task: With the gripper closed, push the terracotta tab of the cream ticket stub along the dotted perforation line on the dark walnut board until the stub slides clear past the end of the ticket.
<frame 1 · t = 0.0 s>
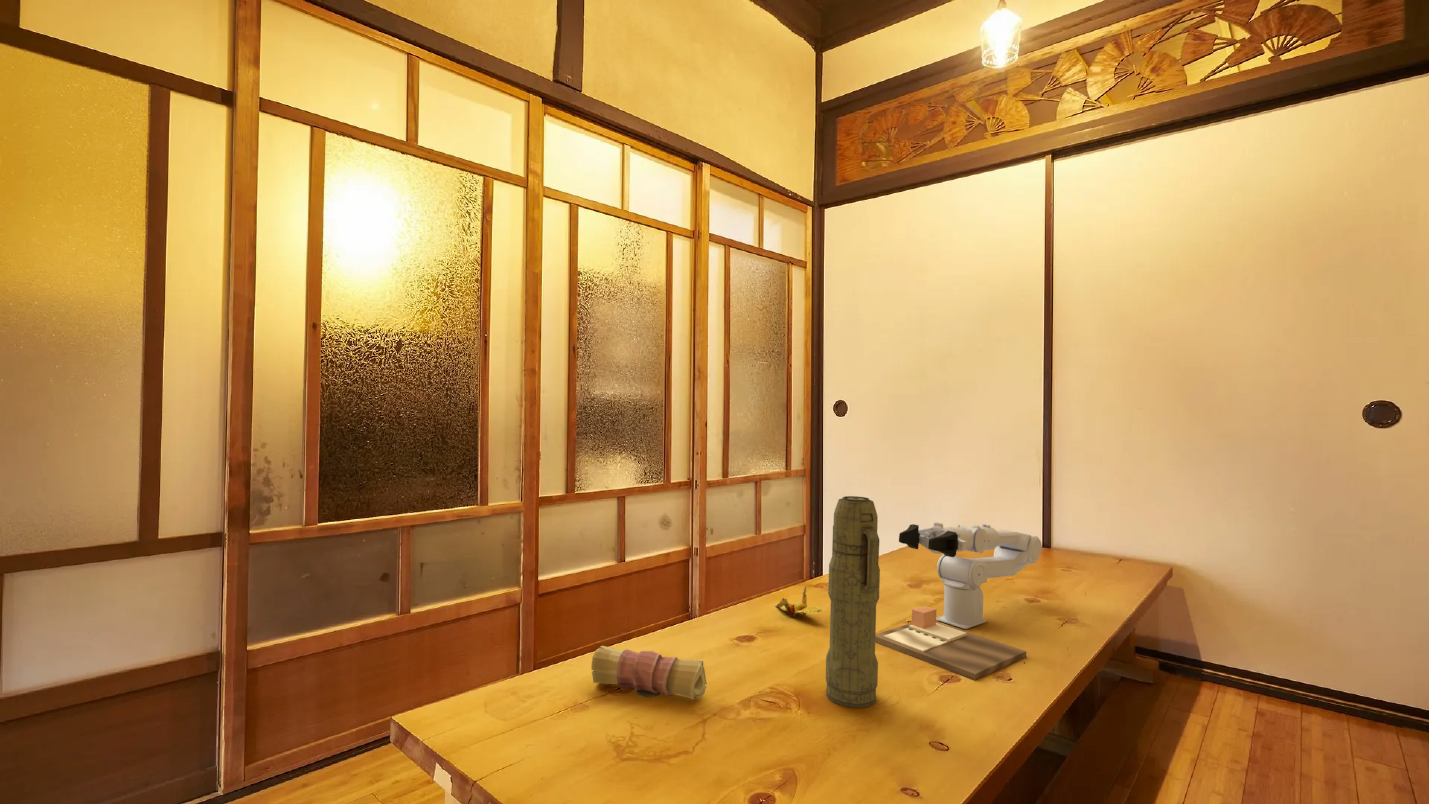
hand: (914, 540, 141), 22 cm above the table, tool horizontal, fingers open, 7 cm apart
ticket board: (947, 648, 135), on the table
stub: (937, 622, 141), point 3 cm above the table, slide at 0.0 cm
origami crane: (797, 616, 154), on the table
scroll: (649, 692, 111), on the table
thermos: (851, 697, 111), on the table
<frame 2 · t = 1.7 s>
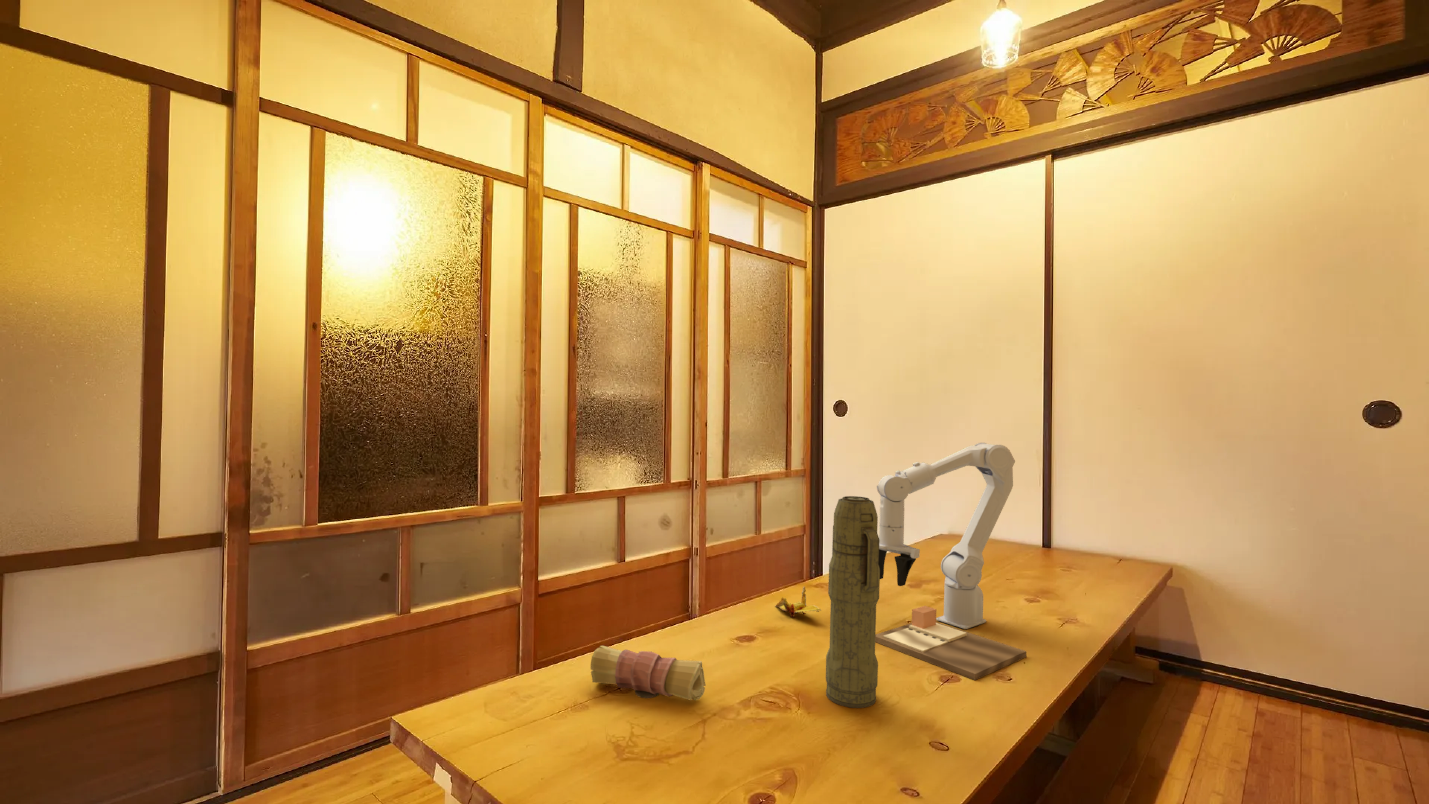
hand: (890, 582, 152), 9 cm above the table, tool pointing down, fingers open, 6 cm apart
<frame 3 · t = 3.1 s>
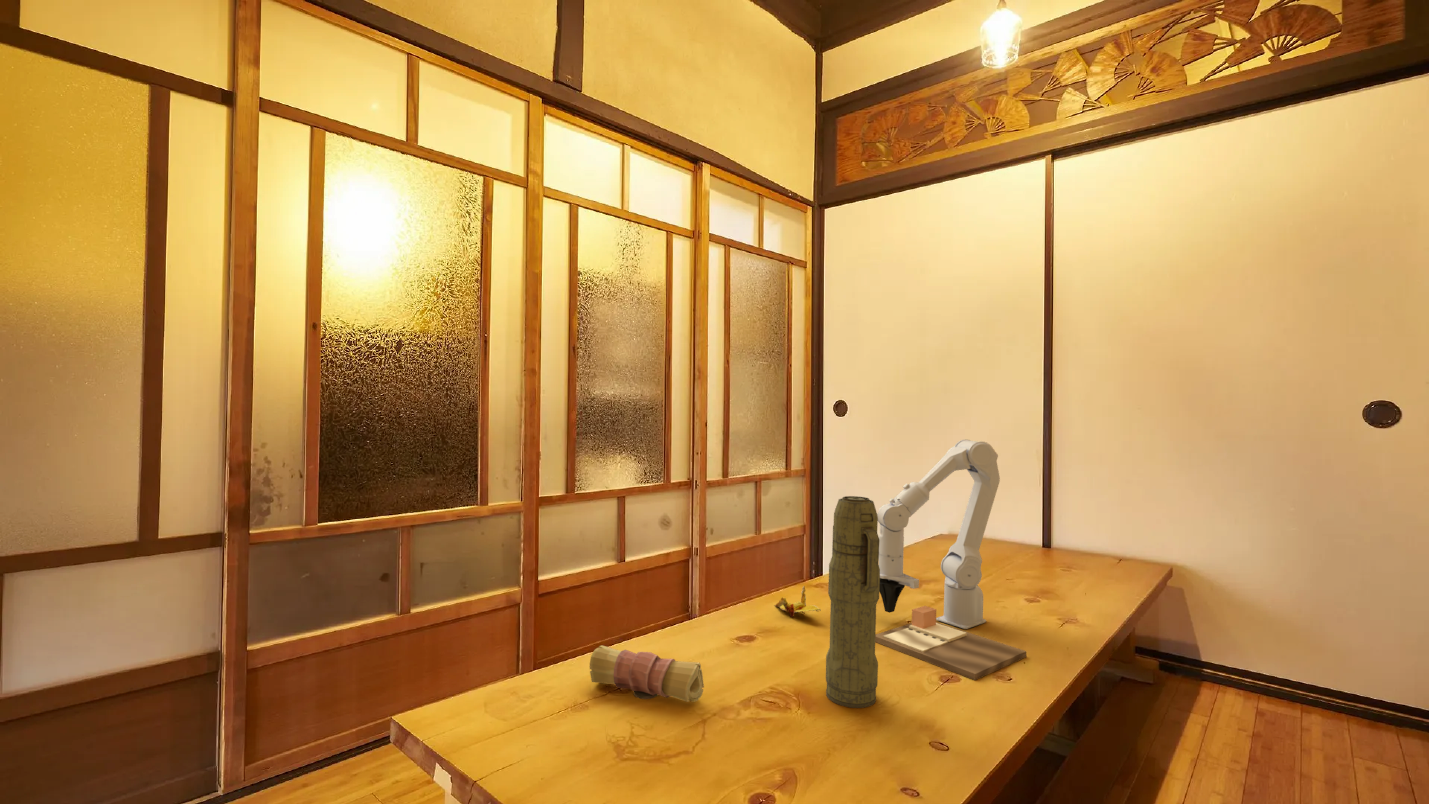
hand: (889, 611, 152), 2 cm above the table, tool pointing down, fingers closed
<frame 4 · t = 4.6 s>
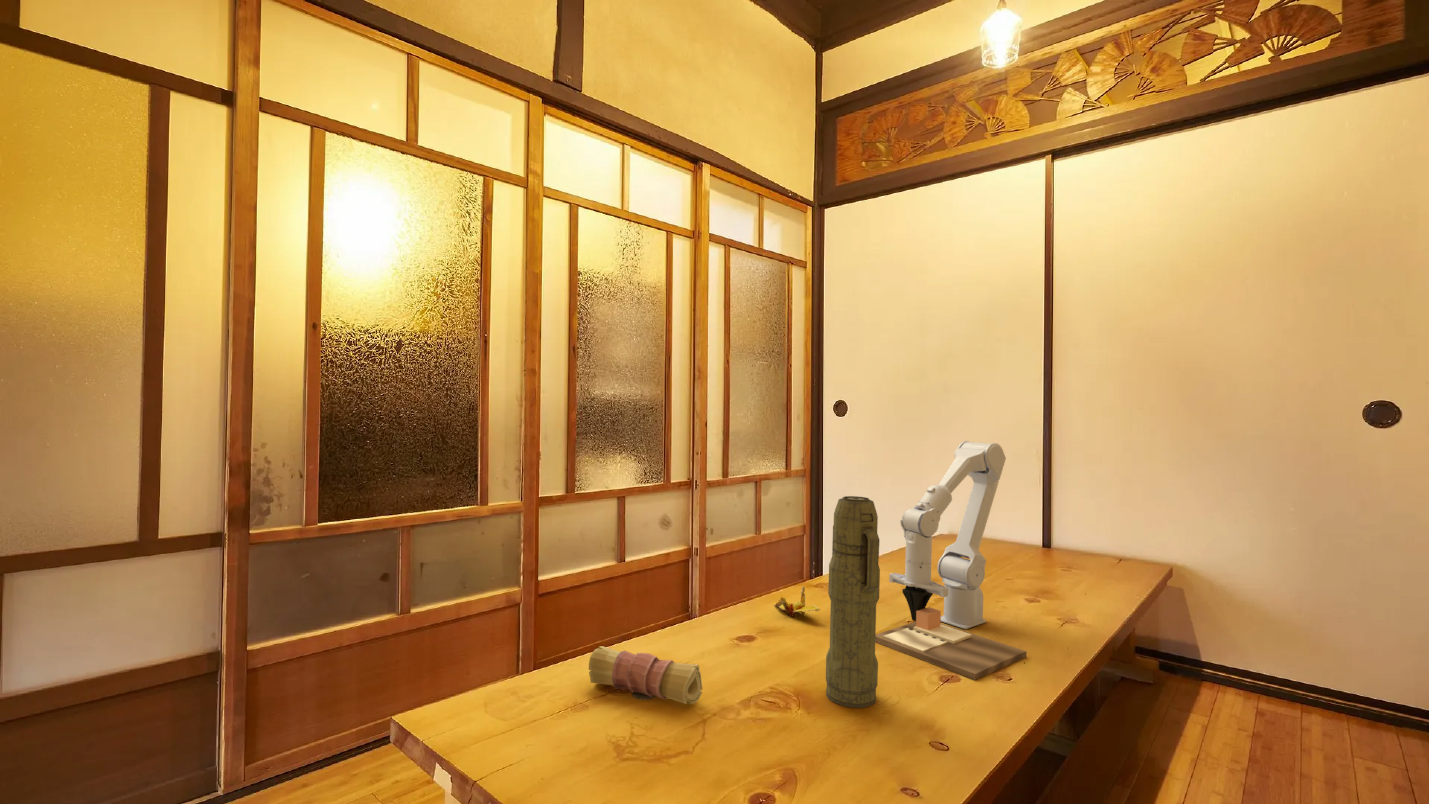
hand: (916, 620, 146), 2 cm above the table, tool pointing down, fingers closed
stub: (942, 624, 141), point 3 cm above the table, slide at 1.1 cm, touching gripper
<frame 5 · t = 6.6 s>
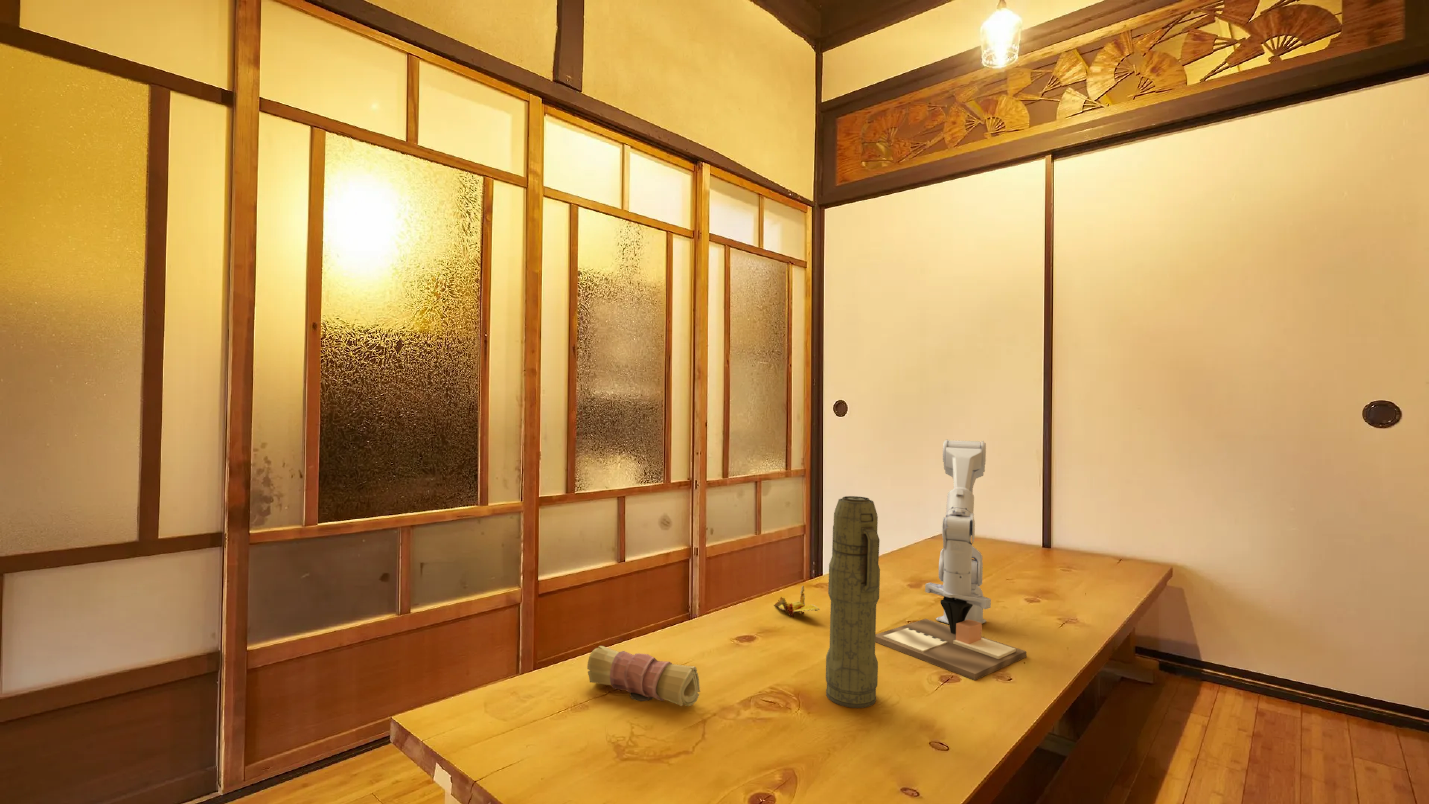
hand: (955, 633, 138), 2 cm above the table, tool pointing down, fingers closed
stub: (984, 637, 133), point 3 cm above the table, slide at 11.0 cm, touching gripper
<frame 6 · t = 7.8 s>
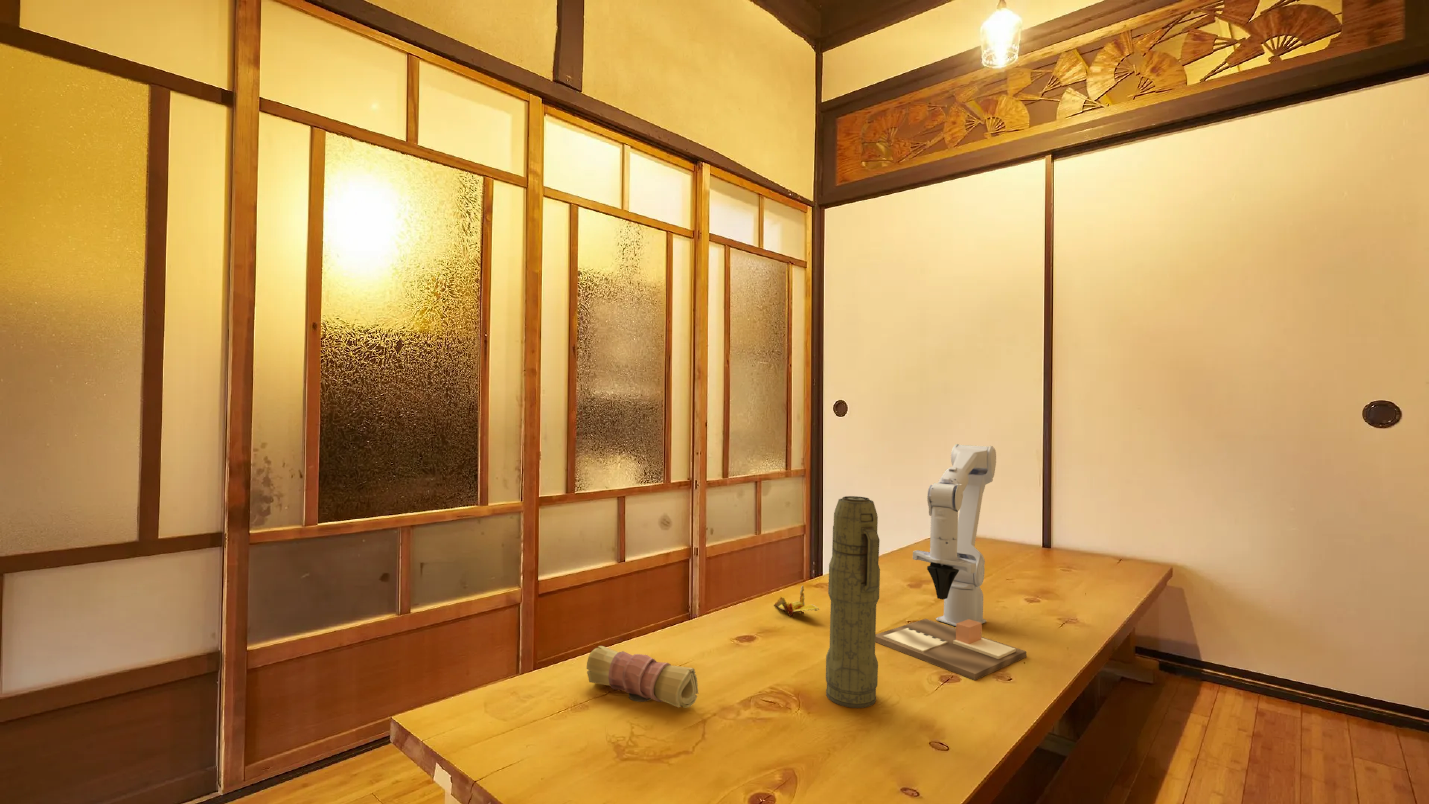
hand: (942, 598, 141), 9 cm above the table, tool pointing down, fingers closed
stub: (984, 637, 133), point 3 cm above the table, slide at 11.0 cm
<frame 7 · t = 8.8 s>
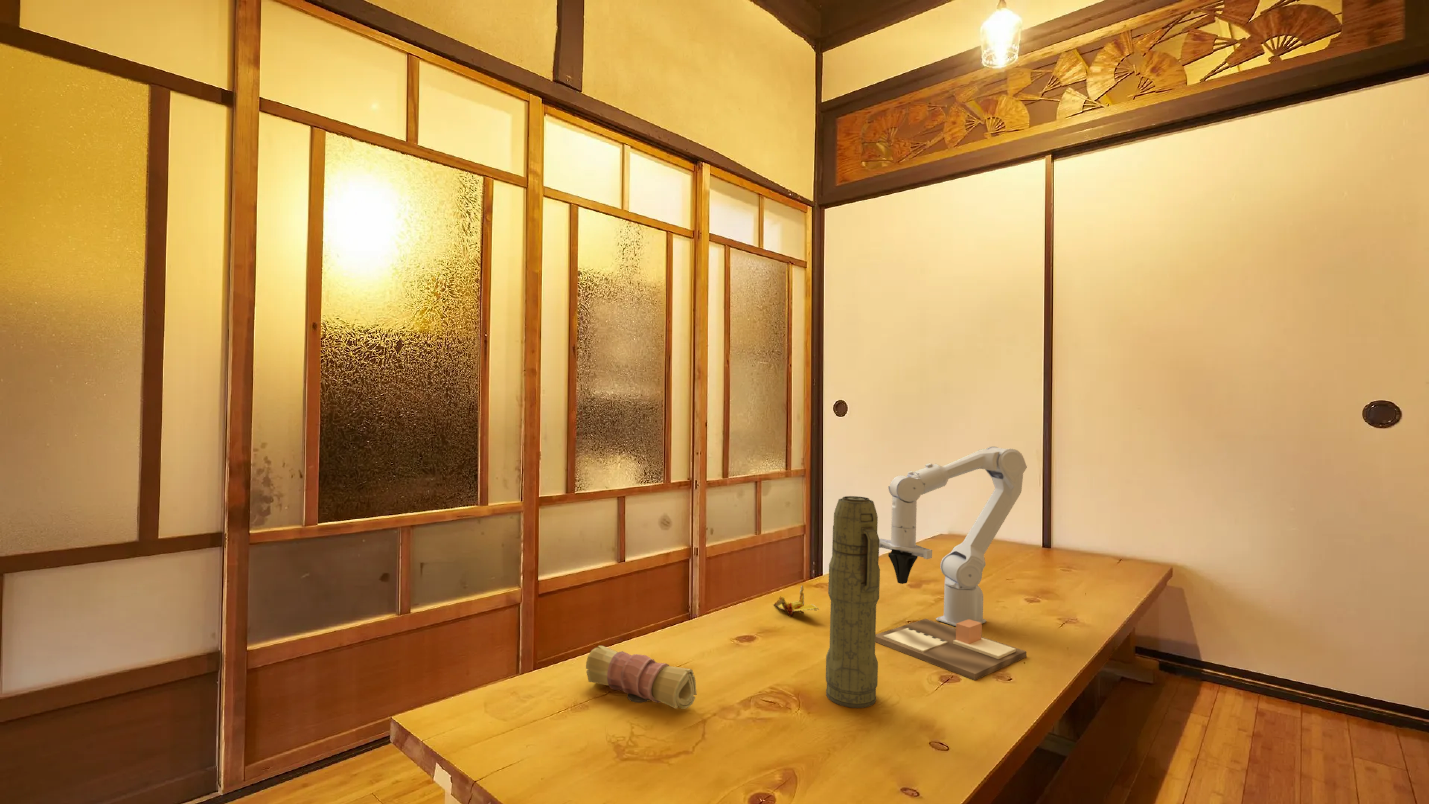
hand: (902, 582, 151), 9 cm above the table, tool pointing down, fingers closed
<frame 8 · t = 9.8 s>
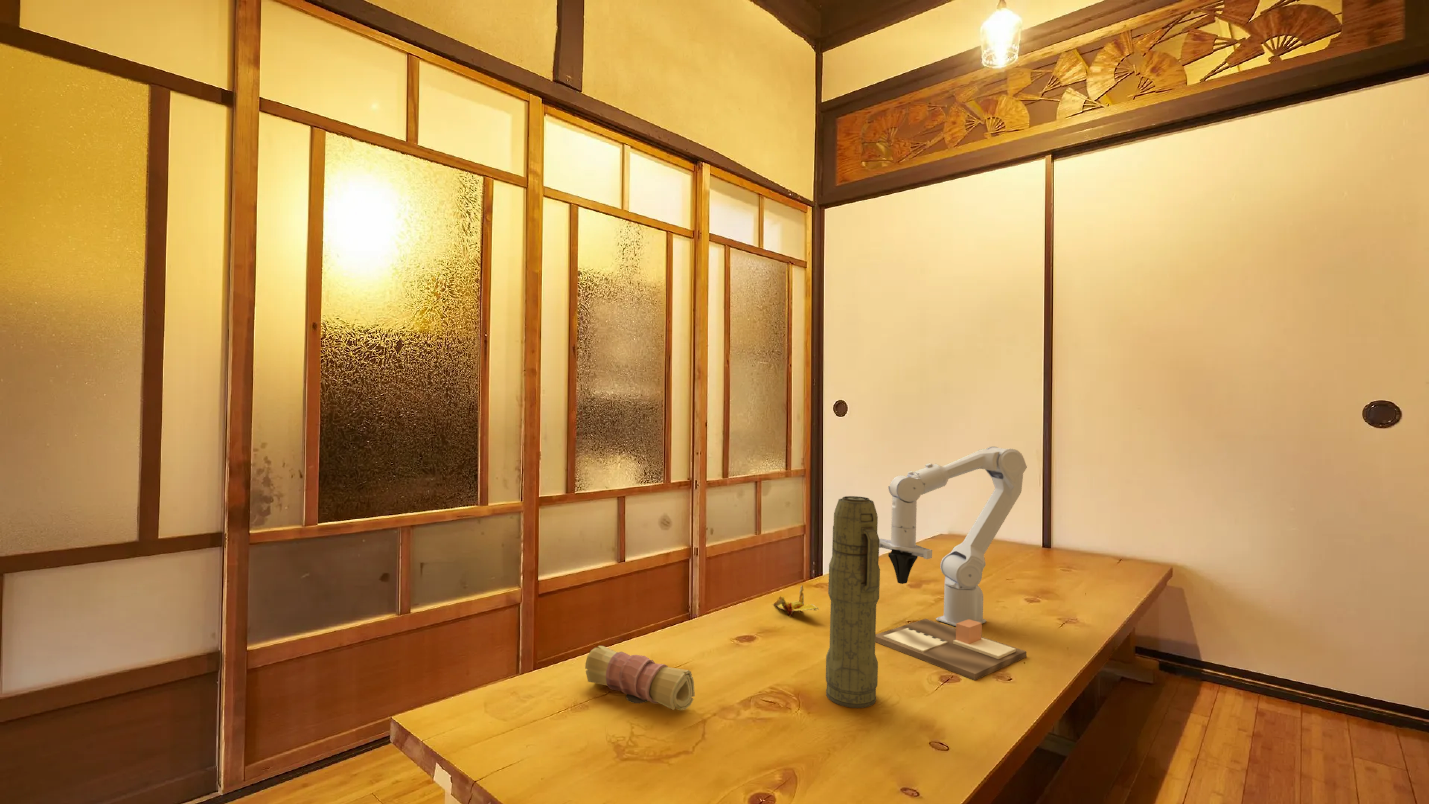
hand: (902, 582, 151), 9 cm above the table, tool pointing down, fingers closed
at the end: stub slide at 11.0 cm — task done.
